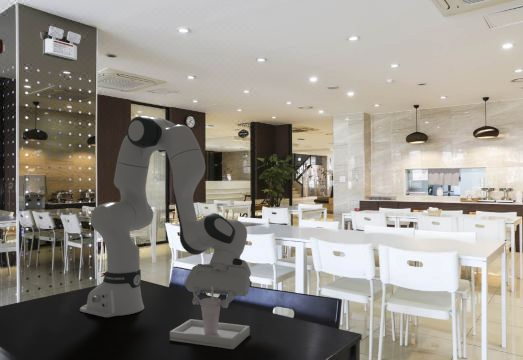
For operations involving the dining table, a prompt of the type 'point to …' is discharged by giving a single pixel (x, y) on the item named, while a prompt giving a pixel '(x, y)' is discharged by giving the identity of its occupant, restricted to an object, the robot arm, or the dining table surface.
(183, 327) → the tray
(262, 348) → the dining table surface
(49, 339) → the dining table surface
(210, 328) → the smoothie
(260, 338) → the dining table surface
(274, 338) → the dining table surface
